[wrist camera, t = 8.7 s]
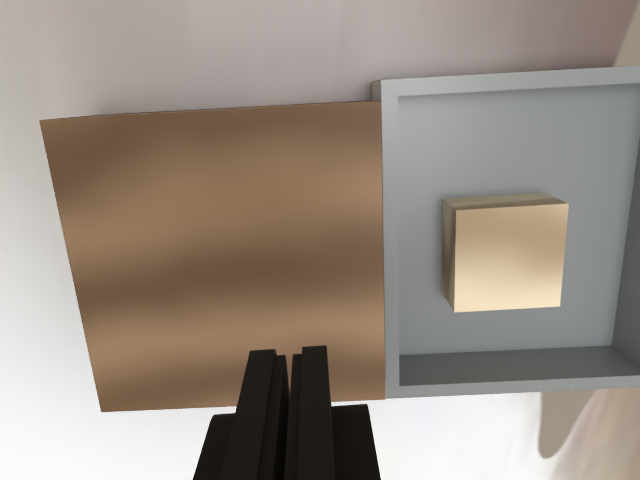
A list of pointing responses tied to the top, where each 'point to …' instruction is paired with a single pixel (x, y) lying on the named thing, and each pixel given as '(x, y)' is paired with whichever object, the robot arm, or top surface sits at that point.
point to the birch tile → (503, 251)
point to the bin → (508, 179)
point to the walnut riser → (223, 246)
